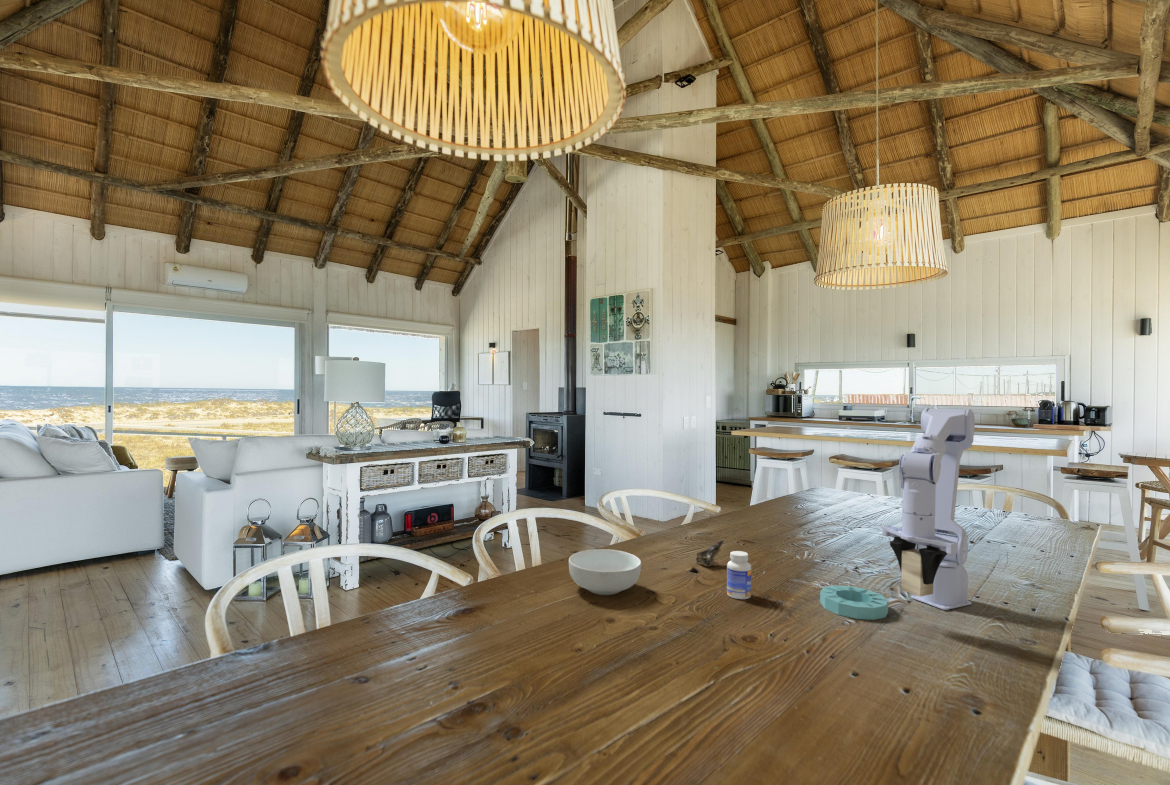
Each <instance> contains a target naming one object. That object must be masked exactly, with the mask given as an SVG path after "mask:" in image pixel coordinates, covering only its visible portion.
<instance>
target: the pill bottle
mask: <svg viewBox="0 0 1170 785" xmlns="http://www.w3.org/2000/svg"><path fill="white" fill-rule="evenodd" d="M729 554H730V555H729V559H730V560H729V561H728V562H727V565H726V593H727V596H728V597H730V598H733V599H736V600H748V599H750V598H751V597H752V564H751V563H750V562H748V561H749V554H748V552H746V551H743V550H742V551H741V550H732V551H730V553H729Z"/></svg>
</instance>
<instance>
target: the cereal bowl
mask: <svg viewBox="0 0 1170 785" xmlns="http://www.w3.org/2000/svg"><path fill="white" fill-rule="evenodd" d="M641 569H642V561H641V559H640V558H639V556H636V555H634V554H632V553H629V552H626V551H623V550H618V549H617V550H616V549H609V548H607V549H604V548H601V549H599V548H598V549H586V550H580V551H578V552H576V553H573V554H572V555H570V556H569V558H568V571H569V574H570V575H569V576H570V577H571V579H572V581H573V582H574V583H575V584H577V585H578V586H579V587H581V588H583V589H585V590H587V591H589V592H591V593H593V594H595V595H601V596H611V595H616V594H619V593H620V592H623V591H625V590H628V589H630V588H632V587H633V586H634V585H635V584H636V583H637V582H638V580H639V577H640V574H641Z"/></svg>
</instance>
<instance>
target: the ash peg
mask: <svg viewBox="0 0 1170 785" xmlns="http://www.w3.org/2000/svg"><path fill="white" fill-rule="evenodd" d="M900 574H901V576H900V579H901V582H900V584H901V585H900V590H901V591H902V592H906V593H908V594H909V593H910V594H911V595H917V596H919V597H921V596H926V595H931V594H933V584H928V585H926V584H924V583H923V566H922V560H921V555H920V552H919V550H918V549H910V550H903V551H902V572H901V571H900Z"/></svg>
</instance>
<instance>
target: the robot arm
mask: <svg viewBox="0 0 1170 785" xmlns="http://www.w3.org/2000/svg"><path fill="white" fill-rule="evenodd" d="M975 417H976V416H975V413H974V411H973V410H972V409H971V408H970V409H969V408H967V409H957V408H956V409H955V408H952V409H951V408H950V409H949V408H929V407H925V408H924V409H923V410H922V412H921V415H920V428H921V431H922V434H921V435H919V436H918V437H917V438H916V440H915V441H914V443H913V445H912V446H911V448H910V450H909V452H906V453H904V454H901V455H900V456H899V457H900V458H899V462H898V475H899V480H900V484H899V485H900V486H899V487H900V489H902V504H901V505H902V509H901V512H902V513H901V515H902V516H901V527H897V526H896V527H895V526H891V525H885V526H882V534H881V535H882V537H883V536H884V537H890V538H893V540H890V541H889V546H890V547H891V549H892V551H893V552H894V555H895V557H896V559H897V562H898V566H899V569H900V573H901V572H902V551H903V550H910V549H918V550H919V552H920V555H921V560H922V566H923V583H924V584H926V585H928V584H933V594H931V595H926V596H921V597H919V596H917V595H914V594H912V595H911V599H913V600H916V601H919V602H922V603H924V604H926V605H930V606H932V607H934V608H938V609H941V610H943V611H948V610H952V609H957V608H961V607H966V606H970V605H972V601H970V600H968V599H969V597H968V596H969V595H968V594H969V592H968V588H969V574H968V571H967V569H966V568H965V566H964V565H965V564H966V562H967V559H968V553H969V544H968V538H969V537H968V534H967V531H966V529H965V528H963V526H961V525H960V524H959V523H958V522H956V521H955V515H956V506H957V496H958V495H957V493H958V486H959V484H958V483H959V474H960V465H961V464H960V463H961V458H962V455H963V453H964V451H965V450H968V449H971V448H972V447H973V446H972V445H973V443H974V438H975V436H974V435H975V425H976V424H975V421H976V420H975V419H976V418H975Z"/></svg>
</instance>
